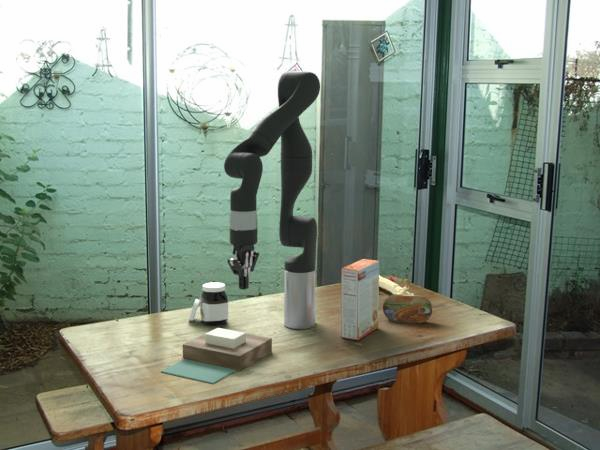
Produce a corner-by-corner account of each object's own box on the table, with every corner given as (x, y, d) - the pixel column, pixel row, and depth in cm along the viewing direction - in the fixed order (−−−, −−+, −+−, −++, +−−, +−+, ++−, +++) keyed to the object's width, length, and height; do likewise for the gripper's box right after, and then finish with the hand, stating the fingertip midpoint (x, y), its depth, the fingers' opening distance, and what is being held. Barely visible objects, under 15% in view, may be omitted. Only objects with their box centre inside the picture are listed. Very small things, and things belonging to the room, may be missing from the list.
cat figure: (419, 304, 267) (377, 281, 288) (421, 279, 265) (379, 258, 286) (395, 308, 262) (354, 284, 283) (397, 283, 260) (356, 261, 281)
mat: (184, 360, 208) (184, 358, 208) (235, 370, 201) (235, 369, 201) (160, 372, 200) (160, 370, 200) (213, 383, 192) (213, 382, 192)
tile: (218, 336, 215) (217, 327, 214) (245, 341, 211) (245, 332, 210) (205, 342, 210) (205, 333, 209) (233, 348, 206) (233, 339, 205)
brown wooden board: (217, 341, 223) (216, 327, 222) (271, 352, 215) (271, 338, 214) (182, 358, 209) (182, 344, 208) (240, 370, 201) (239, 356, 200)
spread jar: (231, 324, 238) (231, 287, 236) (196, 329, 233) (195, 291, 231) (218, 314, 249) (218, 278, 247) (184, 318, 244) (183, 282, 242)
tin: (382, 320, 243) (382, 294, 242) (383, 317, 246) (384, 291, 245) (431, 324, 240) (432, 297, 238) (432, 321, 243) (433, 295, 241)
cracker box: (361, 325, 239) (362, 257, 235) (379, 328, 236) (380, 260, 232) (339, 337, 227) (340, 267, 223) (357, 341, 224) (359, 269, 220)
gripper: (244, 221, 220) (245, 282, 223) (218, 228, 209) (218, 292, 212) (267, 224, 217) (267, 285, 220) (242, 231, 205) (242, 296, 208)
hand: (243, 288), depth 216 cm, fingers closed
